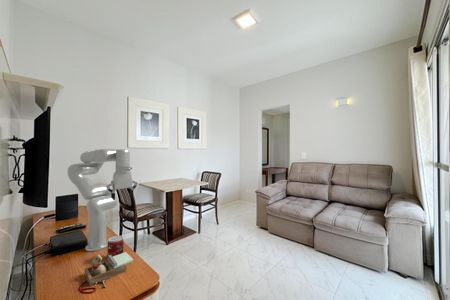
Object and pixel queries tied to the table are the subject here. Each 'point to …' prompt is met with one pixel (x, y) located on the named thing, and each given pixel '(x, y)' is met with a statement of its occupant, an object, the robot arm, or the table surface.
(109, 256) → the lid
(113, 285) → the table surface
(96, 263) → the chocolate bunny
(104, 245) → the robot arm
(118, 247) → the canned food
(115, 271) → the compartment box
